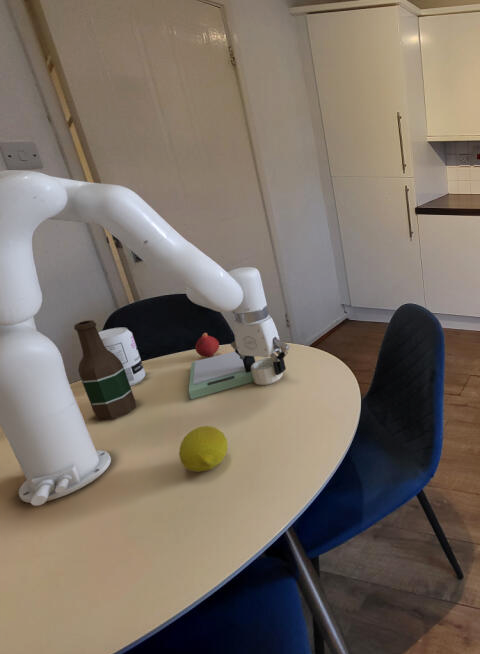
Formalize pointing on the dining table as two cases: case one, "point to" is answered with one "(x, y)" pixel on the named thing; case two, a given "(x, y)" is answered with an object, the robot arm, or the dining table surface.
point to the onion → (207, 345)
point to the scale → (217, 374)
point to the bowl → (264, 371)
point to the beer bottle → (103, 375)
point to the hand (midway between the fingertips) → (266, 371)
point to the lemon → (203, 449)
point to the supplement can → (124, 352)
